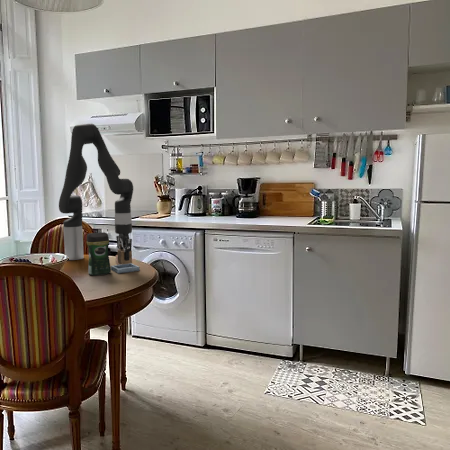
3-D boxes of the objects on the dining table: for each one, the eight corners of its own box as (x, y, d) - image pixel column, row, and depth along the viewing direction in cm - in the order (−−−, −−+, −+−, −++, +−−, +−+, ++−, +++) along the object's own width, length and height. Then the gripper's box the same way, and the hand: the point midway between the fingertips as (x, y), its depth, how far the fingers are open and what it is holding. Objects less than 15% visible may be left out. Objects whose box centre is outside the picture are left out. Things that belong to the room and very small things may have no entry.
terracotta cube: (115, 263, 215) (115, 255, 214) (123, 262, 217) (123, 254, 216) (118, 264, 211) (118, 256, 211) (126, 263, 214) (126, 255, 213)
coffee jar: (108, 270, 198) (106, 230, 196) (112, 274, 191) (110, 232, 189) (86, 273, 194) (84, 232, 191) (90, 276, 187) (88, 234, 184)
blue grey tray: (110, 269, 200) (110, 265, 200) (131, 266, 206) (131, 263, 205) (118, 273, 192) (118, 269, 192) (139, 270, 197) (139, 266, 197)
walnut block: (117, 262, 199) (117, 249, 198) (128, 261, 202) (127, 248, 201) (121, 264, 195) (121, 251, 194) (132, 263, 198) (131, 250, 197)
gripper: (109, 221, 200) (111, 257, 202) (120, 224, 188) (122, 263, 190) (125, 220, 204) (126, 256, 206) (137, 223, 192) (138, 260, 194)
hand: (124, 259), depth 198 cm, fingers closed on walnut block, 5 cm apart
